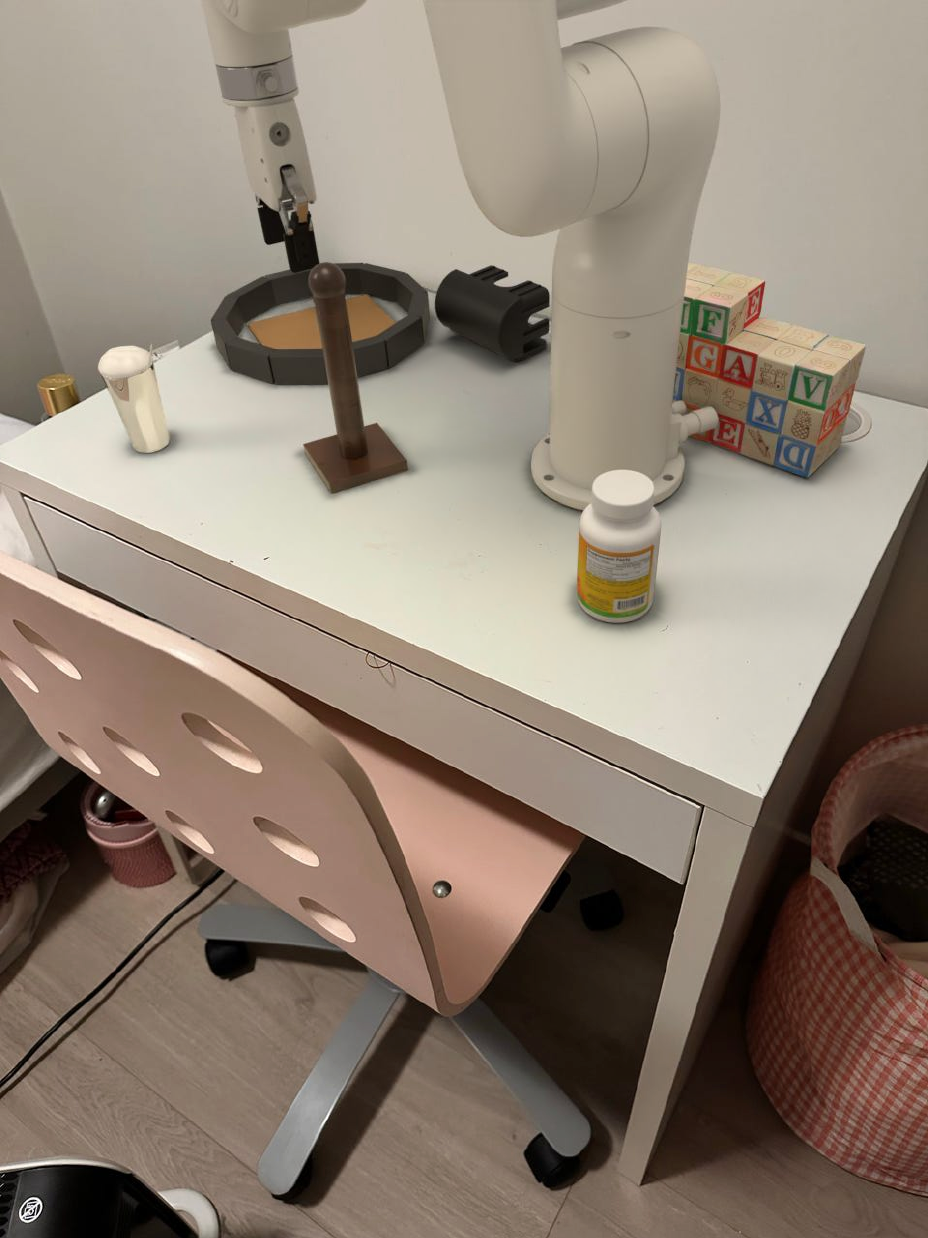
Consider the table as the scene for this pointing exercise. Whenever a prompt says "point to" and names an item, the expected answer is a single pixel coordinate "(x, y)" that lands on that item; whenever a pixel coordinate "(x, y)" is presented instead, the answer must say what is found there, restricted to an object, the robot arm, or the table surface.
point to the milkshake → (136, 395)
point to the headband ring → (310, 362)
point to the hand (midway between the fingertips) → (291, 254)
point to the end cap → (494, 311)
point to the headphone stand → (345, 397)
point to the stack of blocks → (762, 374)
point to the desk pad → (304, 328)
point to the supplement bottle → (618, 547)
